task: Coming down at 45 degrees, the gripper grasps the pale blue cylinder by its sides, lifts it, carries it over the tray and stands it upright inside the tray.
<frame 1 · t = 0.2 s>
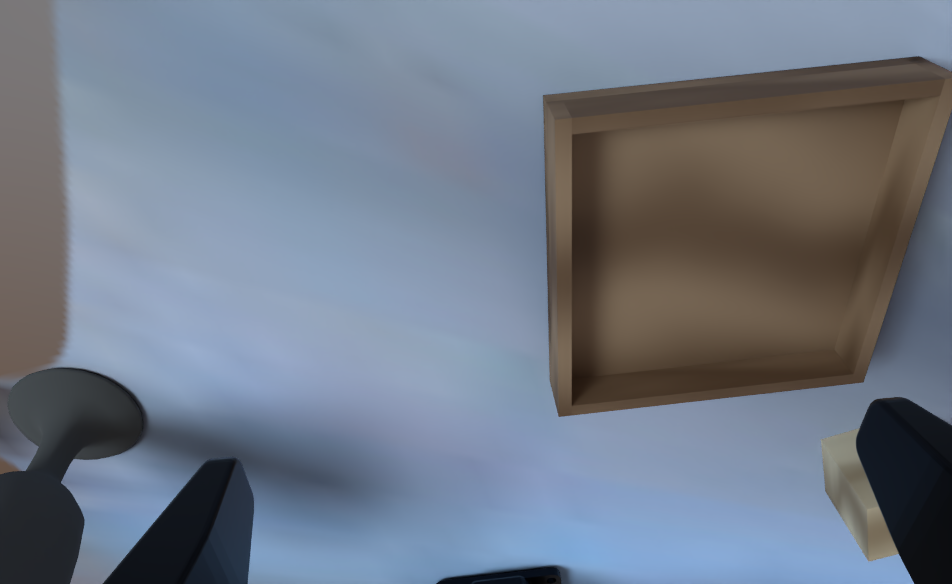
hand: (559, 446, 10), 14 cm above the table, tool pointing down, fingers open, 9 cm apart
tray: (710, 239, 25), on the table
sundae: (78, 410, 28), on the table
beech cube: (864, 453, 33), on the table
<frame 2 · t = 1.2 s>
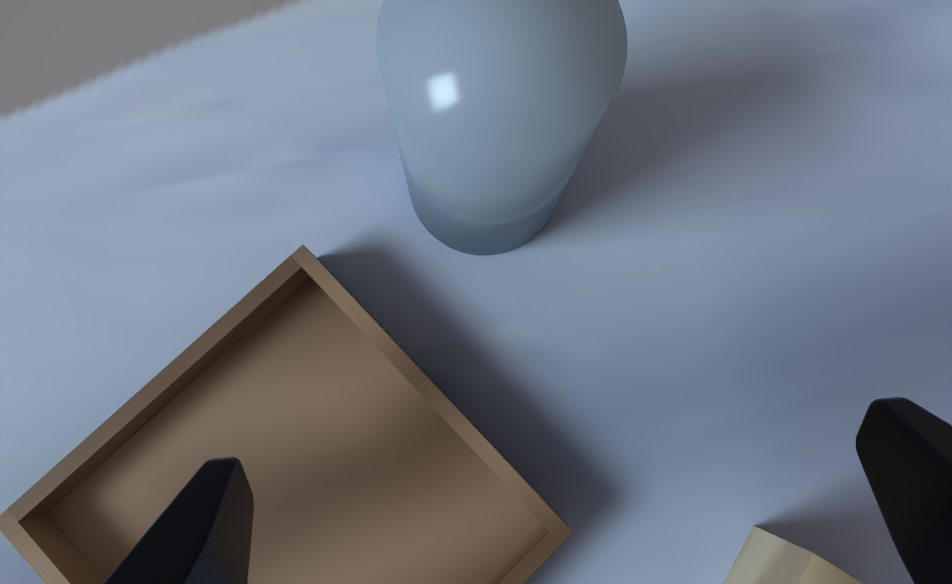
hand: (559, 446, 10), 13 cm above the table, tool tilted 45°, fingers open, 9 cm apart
tray: (301, 514, 23), on the table
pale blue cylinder: (483, 182, 24), on the table
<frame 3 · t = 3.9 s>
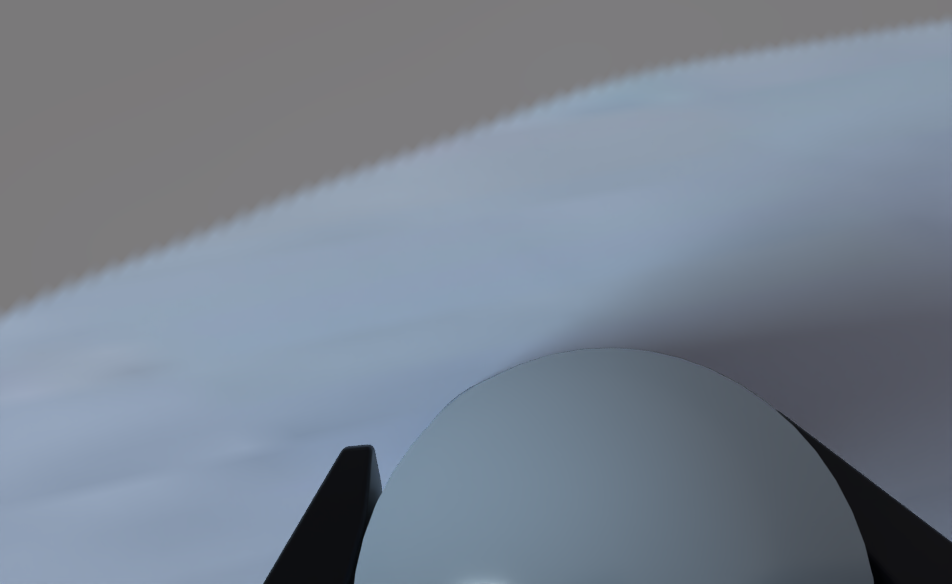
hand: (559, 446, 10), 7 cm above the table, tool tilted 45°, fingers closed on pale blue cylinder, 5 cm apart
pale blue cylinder: (522, 483, 17), on the table, touching gripper
when the fingers open (9 cm above the table, at t = 7.5 s): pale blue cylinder drops 1 cm, resting on tray.
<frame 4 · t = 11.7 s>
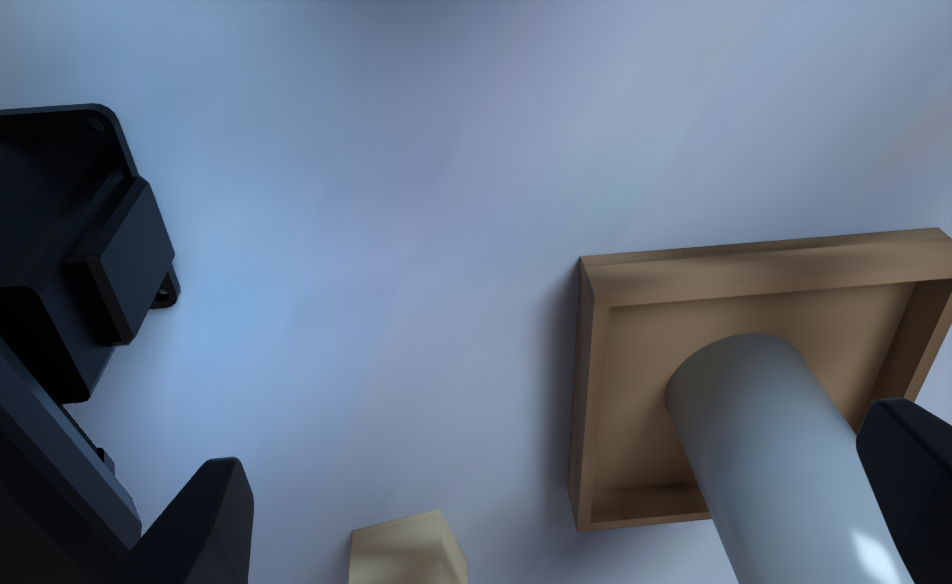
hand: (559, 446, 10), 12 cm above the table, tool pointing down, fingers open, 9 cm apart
tray: (729, 375, 26), on the table
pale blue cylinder: (733, 386, 26), point 1 cm above the table, touching tray
beech cube: (411, 543, 31), on the table
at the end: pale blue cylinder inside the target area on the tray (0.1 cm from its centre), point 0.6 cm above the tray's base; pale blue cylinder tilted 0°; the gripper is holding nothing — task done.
